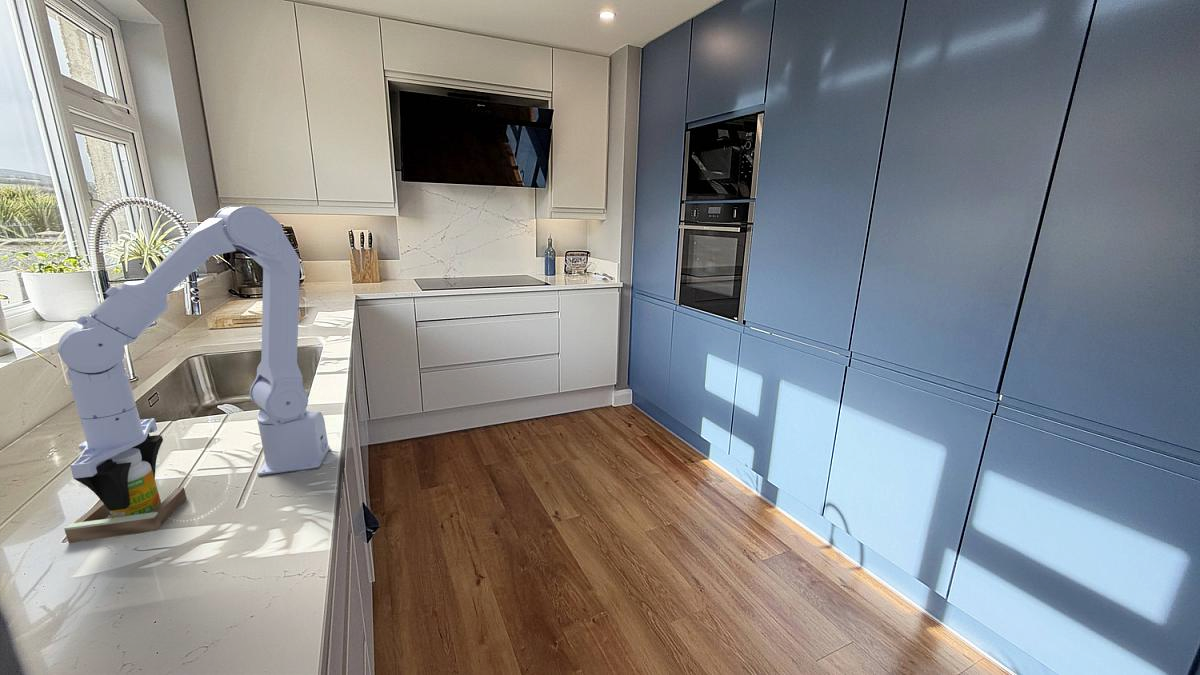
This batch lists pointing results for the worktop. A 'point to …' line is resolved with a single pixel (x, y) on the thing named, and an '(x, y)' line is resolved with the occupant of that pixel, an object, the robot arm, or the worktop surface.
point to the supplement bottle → (138, 485)
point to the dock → (122, 520)
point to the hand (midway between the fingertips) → (132, 496)
